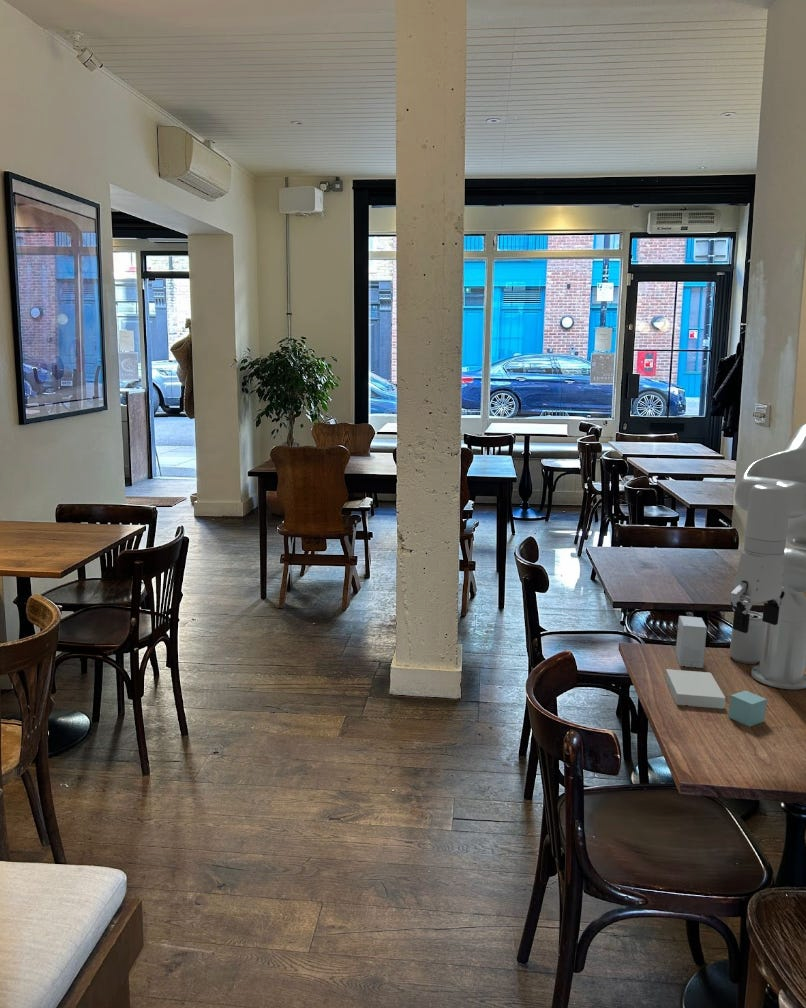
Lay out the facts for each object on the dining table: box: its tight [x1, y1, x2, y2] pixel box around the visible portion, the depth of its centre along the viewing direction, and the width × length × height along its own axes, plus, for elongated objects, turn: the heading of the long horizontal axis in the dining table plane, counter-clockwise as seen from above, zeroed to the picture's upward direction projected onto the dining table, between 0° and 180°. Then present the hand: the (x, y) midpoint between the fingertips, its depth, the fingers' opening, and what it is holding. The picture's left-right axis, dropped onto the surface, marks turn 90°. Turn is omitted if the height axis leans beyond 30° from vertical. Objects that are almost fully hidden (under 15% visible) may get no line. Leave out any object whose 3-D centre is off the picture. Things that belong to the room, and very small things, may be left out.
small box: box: [675, 615, 708, 669], centre depth 200 cm, size 8×6×10 cm
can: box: [729, 610, 764, 665], centre depth 203 cm, size 8×8×12 cm
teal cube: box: [727, 689, 768, 727], centre depth 170 cm, size 5×5×5 cm
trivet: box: [664, 668, 726, 710], centre depth 182 cm, size 14×10×2 cm
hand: (755, 626), depth 167 cm, fingers open, 9 cm apart
